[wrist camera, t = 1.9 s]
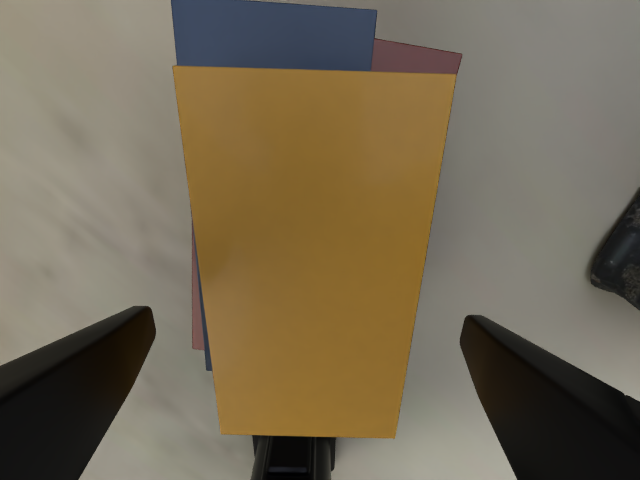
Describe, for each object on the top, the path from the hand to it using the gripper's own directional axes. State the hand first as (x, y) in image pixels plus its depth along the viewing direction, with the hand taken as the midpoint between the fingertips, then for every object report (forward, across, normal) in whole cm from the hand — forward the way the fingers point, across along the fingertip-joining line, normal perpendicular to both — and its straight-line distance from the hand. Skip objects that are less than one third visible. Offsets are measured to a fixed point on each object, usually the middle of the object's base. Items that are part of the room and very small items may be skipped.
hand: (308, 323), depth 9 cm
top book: (+4, 0, 0) cm, 4 cm away
